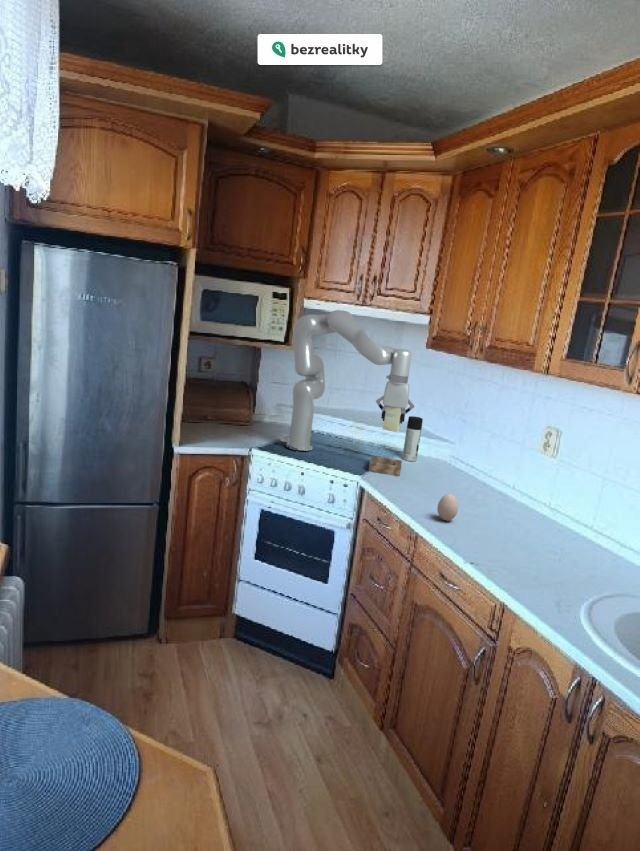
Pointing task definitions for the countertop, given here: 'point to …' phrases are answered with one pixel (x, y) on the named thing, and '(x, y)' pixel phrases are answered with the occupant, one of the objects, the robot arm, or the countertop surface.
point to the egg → (447, 507)
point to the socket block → (385, 465)
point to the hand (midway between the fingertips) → (392, 421)
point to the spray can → (412, 438)
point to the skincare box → (392, 419)
